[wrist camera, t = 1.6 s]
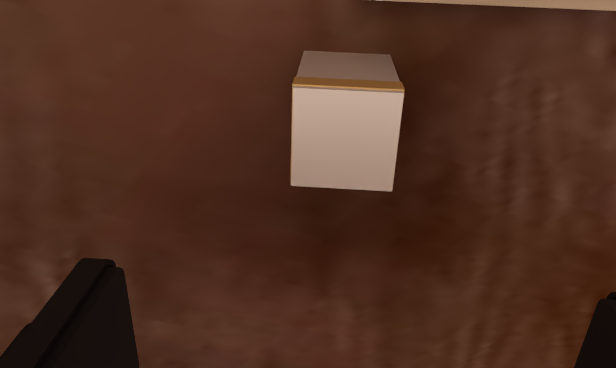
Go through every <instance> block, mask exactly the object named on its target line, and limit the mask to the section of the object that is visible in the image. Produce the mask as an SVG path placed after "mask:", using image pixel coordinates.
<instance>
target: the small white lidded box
mask: <svg viewBox="0 0 616 368" xmlns="http://www.w3.org/2000/svg"><path fill="white" fill-rule="evenodd" d="M404 91H405V89H404V87H403V84H402V82H400V81H399V78H398V75H397V72H396V69H395V67H394V64H393V61H392V58H391V55H387V54H366V53H345V52H323V51H304V52H303V55H302V59H301V62H300V66H299V69H298V73H297V76H296V77H294V81H293V84H292V130H291V180H290V183H291V186H304V187H321V188H339V189H357V190H374V191H392V189H393V181H394V173H395V165H396V157H397V148H398V140H399V132H400V124H401V115H402V107H403V99H404Z"/></svg>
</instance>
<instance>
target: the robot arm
mask: <svg viewBox="0 0 616 368" xmlns="http://www.w3.org/2000/svg"><path fill="white" fill-rule="evenodd" d="M0 368H139V361H138V355H137V349H136V343H135V336H134V330H133V324H132V318H131V311H130V305H129V299H128V293H127V286H126V280H125V274H124V270H123V269H122V268H119V267H116V264H115V262H114V261H113V260H108V259H92V258H83V259H81V260H80V261H79V262H78V263H77V265H76V266H75V267H74V269H73V270H72V271H71V272H70V274H69V275H68V276H67V278H66V279H65V280H64V281H63V283H62V284H61V285H60V287H59V288H58V289H57V290H56V292H55V293H54V294H53V296H52V297H51V298H50V300H49V301H48V302H47V303H46V305H45V306H44V307H43V309H42V310H41V311H40V312H39V314H38V315H37V316H36V318H35V319H34V320H33V321H32V323H30V324H27V325H26V326H25V327H24V328H23V329H22V330H21V331H20V333H19V334H18V335H17V337H16V338H15V339H14V340H13V342H12V343H11V344H10V345H9V347H8V348H7V349H6V351H5V352H4V353H3V354H2V356H1V357H0ZM574 368H616V292H612V293H610V294H609V295H608V296H607V298H606V299H601V300H600V301H599V302H598V304H597V306H596V309H595V312H594V314H593V317H592V320H591V323H590V325H589V328H588V331H587V334H586V336H585V339H584V342H583V345H582V347H581V350H580V353H579V356H578V358H577V361H576V364H575V367H574Z"/></svg>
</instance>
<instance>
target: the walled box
mask: <svg viewBox="0 0 616 368" xmlns="http://www.w3.org/2000/svg"><path fill="white" fill-rule="evenodd" d="M378 1H401V2H424V3H447V4H470V5H493V6H517V7H540V8H563V9H586V10H609V11H616V0H378Z"/></svg>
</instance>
